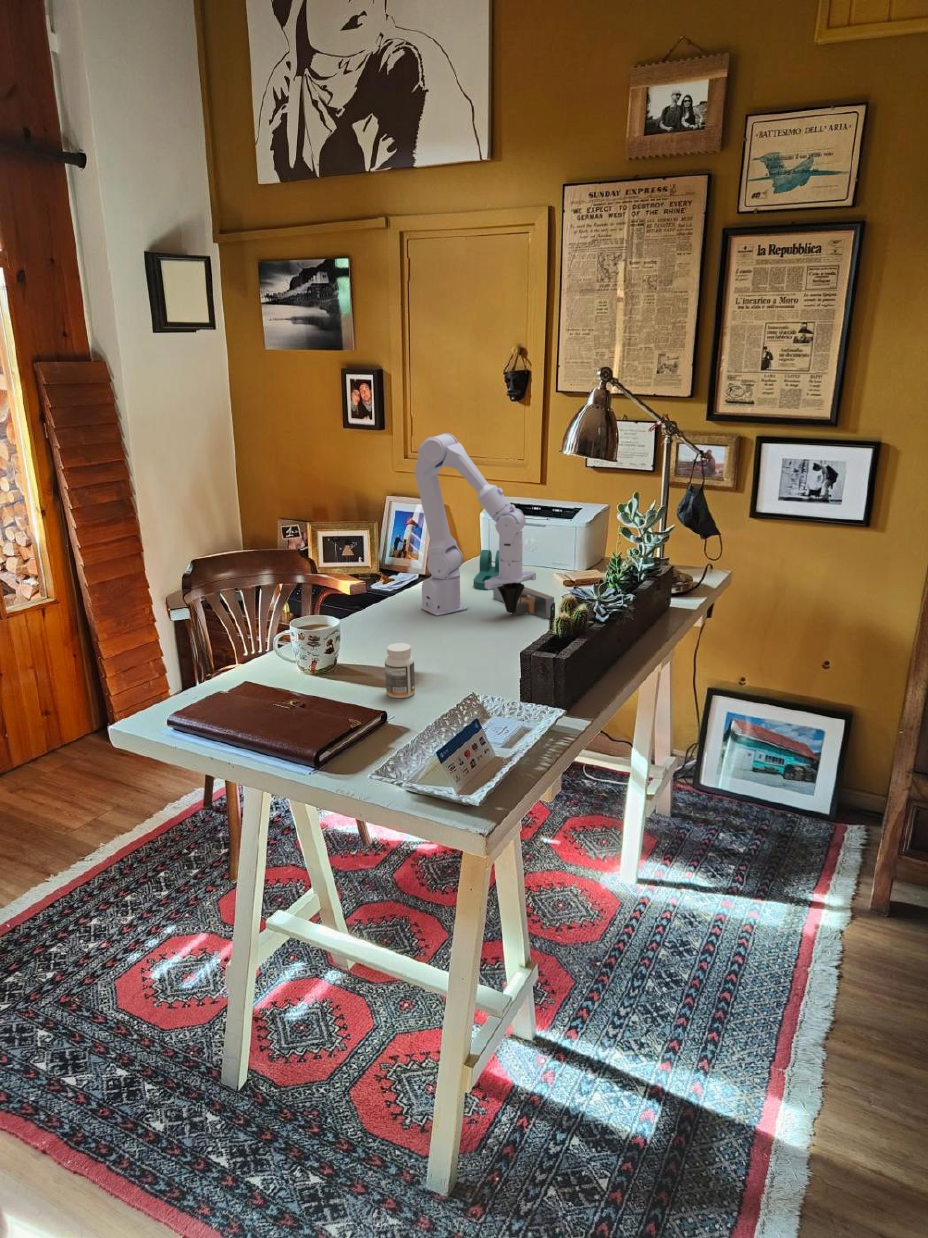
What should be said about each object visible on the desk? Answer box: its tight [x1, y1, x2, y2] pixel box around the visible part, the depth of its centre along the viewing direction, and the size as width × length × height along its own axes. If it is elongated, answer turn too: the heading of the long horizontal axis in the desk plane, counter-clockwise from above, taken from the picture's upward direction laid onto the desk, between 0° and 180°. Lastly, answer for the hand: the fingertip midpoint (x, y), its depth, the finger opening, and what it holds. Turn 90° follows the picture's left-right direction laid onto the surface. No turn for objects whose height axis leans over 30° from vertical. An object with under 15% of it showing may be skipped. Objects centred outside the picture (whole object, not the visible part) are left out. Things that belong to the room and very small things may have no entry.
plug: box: [511, 596, 535, 616], centre depth 225 cm, size 8×4×3 cm, turn 124°
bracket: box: [473, 549, 499, 591], centre depth 252 cm, size 18×7×8 cm, turn 167°
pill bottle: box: [384, 642, 416, 699], centre depth 175 cm, size 6×6×10 cm
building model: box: [492, 586, 555, 620], centre depth 228 cm, size 2×22×5 cm, turn 35°
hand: (510, 611), depth 223 cm, fingers closed
